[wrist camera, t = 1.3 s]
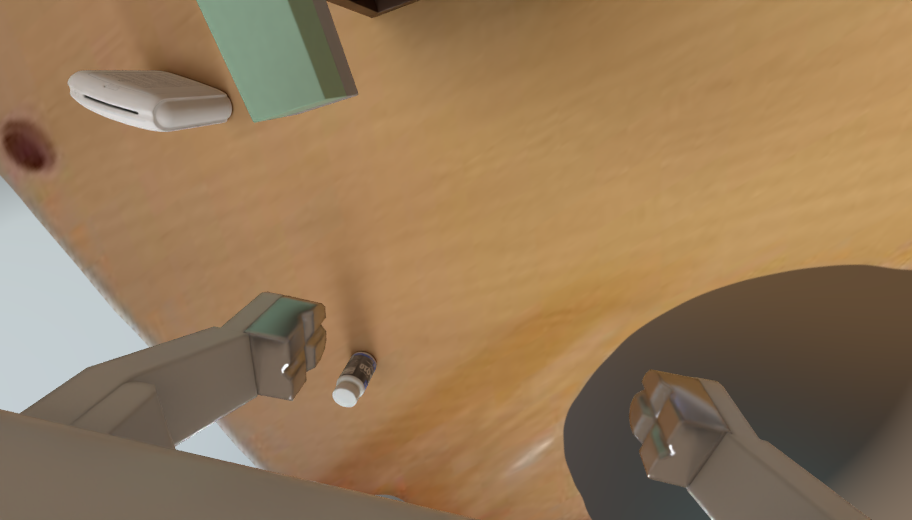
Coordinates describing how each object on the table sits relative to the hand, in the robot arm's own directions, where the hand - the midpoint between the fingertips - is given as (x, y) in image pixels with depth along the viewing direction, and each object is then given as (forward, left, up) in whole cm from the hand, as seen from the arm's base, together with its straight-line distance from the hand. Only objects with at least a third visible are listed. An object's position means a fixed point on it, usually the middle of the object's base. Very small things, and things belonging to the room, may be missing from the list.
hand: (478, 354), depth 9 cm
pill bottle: (+37, +25, -40) cm, 60 cm away
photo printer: (+35, -21, -40) cm, 57 cm away
